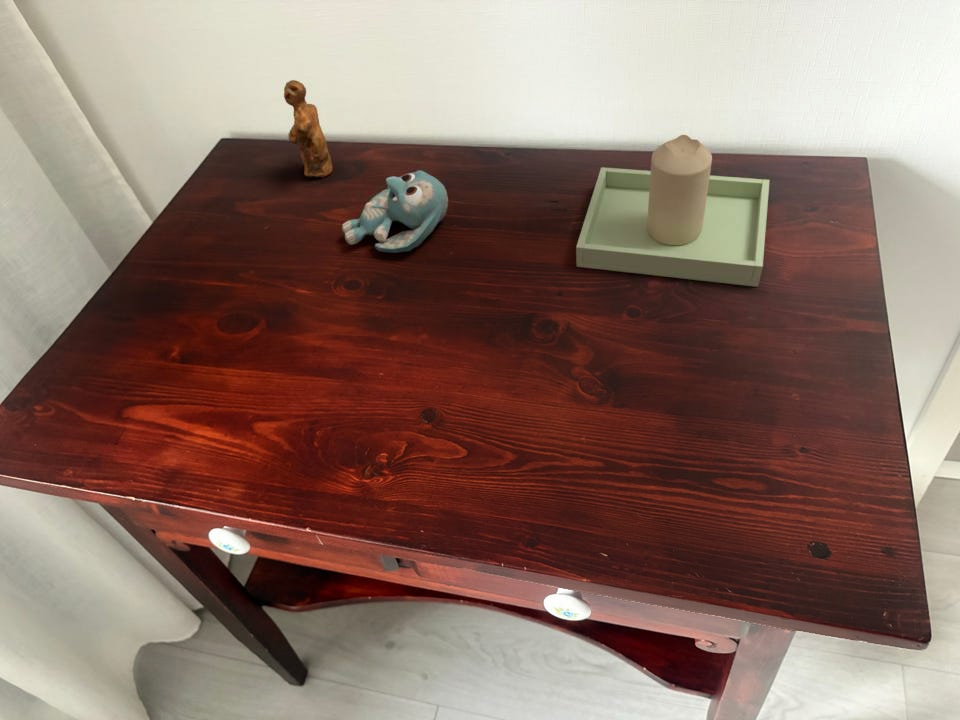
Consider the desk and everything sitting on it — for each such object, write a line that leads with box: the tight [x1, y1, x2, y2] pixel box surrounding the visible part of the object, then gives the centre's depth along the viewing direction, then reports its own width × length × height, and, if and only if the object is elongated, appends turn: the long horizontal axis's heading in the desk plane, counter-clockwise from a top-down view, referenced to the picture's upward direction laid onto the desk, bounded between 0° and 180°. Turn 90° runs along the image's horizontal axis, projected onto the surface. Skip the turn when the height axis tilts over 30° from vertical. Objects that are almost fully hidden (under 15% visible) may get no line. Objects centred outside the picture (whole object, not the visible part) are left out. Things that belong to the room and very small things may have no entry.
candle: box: [647, 134, 713, 245], centre depth 73 cm, size 6×6×10 cm
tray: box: [575, 167, 771, 288], centre depth 76 cm, size 17×13×3 cm
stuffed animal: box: [341, 169, 449, 254], centre depth 80 cm, size 11×7×12 cm
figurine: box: [283, 79, 334, 179], centre depth 87 cm, size 5×6×12 cm
